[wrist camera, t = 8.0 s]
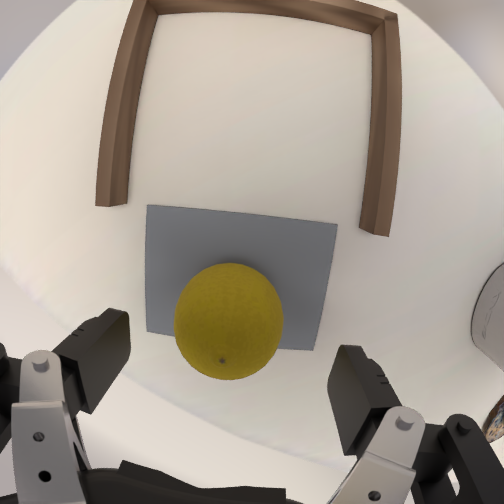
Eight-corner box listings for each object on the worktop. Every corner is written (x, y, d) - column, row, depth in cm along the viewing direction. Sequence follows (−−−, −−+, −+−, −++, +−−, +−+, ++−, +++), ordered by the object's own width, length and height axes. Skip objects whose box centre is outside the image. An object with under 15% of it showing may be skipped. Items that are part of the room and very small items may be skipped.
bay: (383, 28, 14) (397, 13, 12) (372, 229, 18) (388, 236, 15) (148, 6, 14) (137, -10, 12) (113, 202, 17) (95, 206, 15)
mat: (337, 224, 18) (337, 224, 18) (312, 349, 20) (313, 350, 20) (147, 204, 17) (147, 205, 17) (147, 330, 20) (146, 331, 19)
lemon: (276, 328, 19) (288, 410, 11) (194, 328, 19) (164, 405, 11) (278, 248, 18) (296, 296, 10) (189, 249, 18) (144, 294, 10)
